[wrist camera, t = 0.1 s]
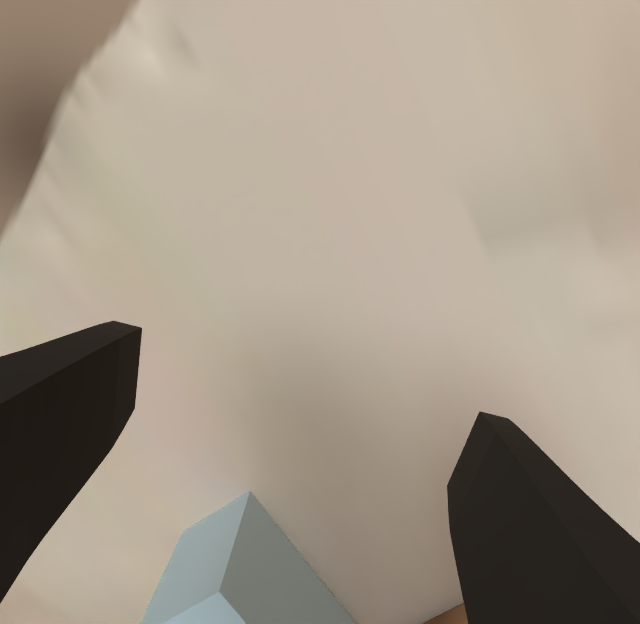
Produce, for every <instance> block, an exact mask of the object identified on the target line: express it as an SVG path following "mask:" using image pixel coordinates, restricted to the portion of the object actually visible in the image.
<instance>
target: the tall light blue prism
mask: <svg viewBox="0 0 640 624" xmlns="http://www.w3.org/2000/svg"><path fill="white" fill-rule="evenodd" d="M140 624H356V623H355V621H354V620H353V619H352V618H351V616H350V615H349V614H348V613H347V611H346V610H345V609H344V608H343V606H342V605H341V604H340V603H339V601H338V600H337V599H336V598H335V596H334V595H333V594H332V593H331V591H330V590H329V589H328V588H327V586H326V585H325V584H324V583H323V581H322V580H321V579H320V578H319V576H318V575H317V574H316V573H315V571H314V570H313V569H312V568H311V567H310V565H309V564H308V563H307V562H306V560H305V559H304V558H303V557H302V555H301V554H300V553H299V552H298V550H297V549H296V548H295V547H294V545H293V544H292V543H291V542H290V540H289V539H288V538H287V537H286V535H285V534H284V533H283V532H282V530H281V529H280V528H279V527H278V525H277V524H276V523H275V522H274V520H273V519H272V518H271V517H270V515H269V514H268V513H267V512H266V510H265V509H264V508H263V507H262V505H261V504H260V503H259V502H258V500H257V499H256V498H255V497H254V495H253V494H252V493H251V492H250V491H249V492H248V493H246V494H244V495H243V496H241V497H239V498H238V499H236V500H234V501H233V502H231V503H229V504H228V505H226V506H224V507H223V508H221V509H219V510H218V511H216V512H214V513H213V514H211V515H210V516H208V517H206V518H205V519H203V520H201V521H200V522H198V523H196V524H195V525H193V526H191V527H190V528H188V529H186V530H185V531H183V533H182V535H181V537H180V539H179V541H178V544H177V546H176V548H175V550H174V552H173V554H172V556H171V559H170V561H169V563H168V565H167V567H166V569H165V571H164V574H163V576H162V578H161V580H160V582H159V584H158V586H157V589H156V591H155V593H154V595H153V597H152V599H151V601H150V604H149V606H148V608H147V610H146V612H145V614H144V616H143V619H142V621H141V623H140Z"/></svg>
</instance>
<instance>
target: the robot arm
mask: <svg viewBox="0 0 640 624" xmlns="http://www.w3.org/2000/svg"><path fill="white" fill-rule="evenodd" d="M141 334H142V328H141V327H136V326H132V325H128V324H124V323H120V322H116V321H111V322H106V323H103V324H99V325H96V326H93V327H90V328H87V329H84V330H81V331H78V332H75V333H72V334H69V335H66V336H63V337H60V338H57V339H54V340H51V341H48V342H45V343H42V344H39V345H36V346H34V347H31V348H28V349H25V350H21V351H18V352H15V353H11V354H8V355H5V356H1V357H0V603H1V602H2V600H3V598H4V597H5V595H6V594H7V592H8V590H9V589H10V587H11V586H12V584H13V582H14V581H15V579H16V578H17V576H18V574H19V573H20V571H21V570H22V568H23V567H24V565H25V563H26V562H27V560H28V559H29V557H30V556H31V555H32V553H33V552H34V550H35V549H36V548H37V546H38V545H39V543H40V542H41V541H42V539H43V538H44V536H45V535H46V534H47V533H48V531H49V530H50V529H51V527H52V526H53V525H54V523H55V522H56V521H57V520H58V518H59V517H60V516H61V514H62V513H63V512H64V511H65V509H66V508H67V507H68V505H69V504H70V503H71V501H72V500H73V499H74V498H75V496H76V495H77V494H78V492H79V491H80V490H81V488H82V487H83V486H84V485H85V483H86V482H87V481H88V479H89V478H90V477H91V475H92V474H93V473H94V472H95V470H96V469H97V468H98V466H99V465H100V464H101V462H102V461H103V460H104V458H105V457H106V456H107V454H108V453H109V452H110V450H111V449H112V447H113V446H114V444H115V442H116V441H117V439H118V437H119V436H120V434H121V432H122V430H123V429H124V427H125V425H126V423H127V421H128V420H129V418H130V416H131V414H132V412H133V411H134V409H135V399H136V388H137V377H138V367H139V356H140V345H141ZM447 491H448V512H449V525H450V534H451V539H452V545H453V550H454V555H455V560H456V566H457V571H458V576H459V580H460V585H461V590H462V595H463V600H464V605H465V610H466V615H467V620H468V624H640V543H639V542H638V541H637V540H635V539H634V538H633V537H632V536H631V535H630V534H629V533H628V532H626V531H625V530H624V529H623V528H622V527H621V526H620V525H619V524H618V523H617V522H615V521H614V520H613V519H612V518H611V517H610V516H609V515H608V514H607V513H605V512H604V511H603V510H602V509H601V508H600V507H599V506H598V505H597V504H596V503H595V502H594V501H593V500H592V499H591V498H590V497H589V496H587V495H586V494H585V493H584V492H583V491H582V490H581V489H580V488H579V487H578V486H577V485H576V484H575V483H574V482H573V481H572V480H571V479H570V478H569V477H568V476H567V475H566V474H565V473H564V472H563V471H562V470H561V469H560V468H559V467H558V466H557V465H556V464H555V463H554V462H553V461H552V460H551V459H550V458H549V457H548V456H547V455H546V454H545V453H544V452H543V451H542V450H541V449H540V448H539V447H538V446H537V445H536V444H535V443H534V442H533V441H532V440H531V439H530V438H529V437H528V436H527V435H526V434H525V433H524V432H523V431H522V430H521V429H520V428H519V427H518V426H516V425H515V424H514V423H513V422H512V421H511V420H509V419H508V418H504V417H500V416H496V415H492V414H488V413H484V412H479V414H478V416H477V419H476V421H475V423H474V425H473V428H472V430H471V432H470V435H469V437H468V439H467V441H466V444H465V446H464V448H463V451H462V453H461V455H460V457H459V460H458V462H457V464H456V467H455V469H454V471H453V474H452V476H451V478H450V480H449V483H448V485H447Z"/></svg>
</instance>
